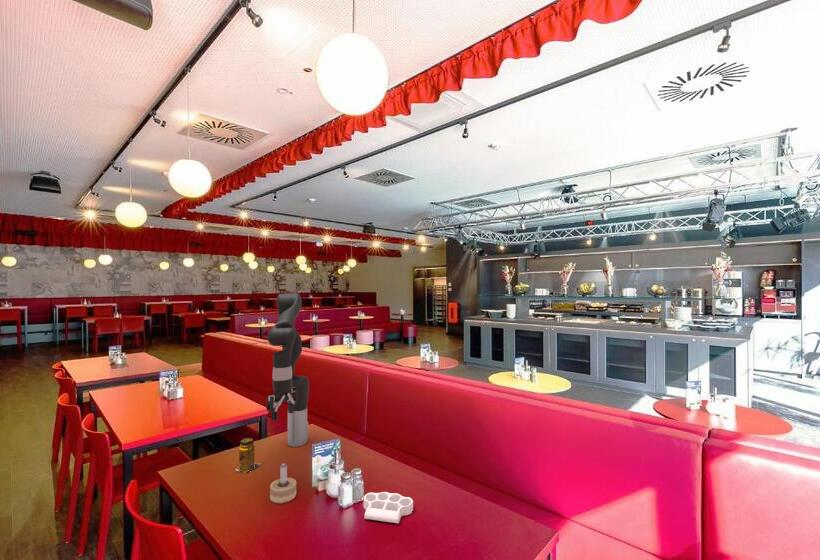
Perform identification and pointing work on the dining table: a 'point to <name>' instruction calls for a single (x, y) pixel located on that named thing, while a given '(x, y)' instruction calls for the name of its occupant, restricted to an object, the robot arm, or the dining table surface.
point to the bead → (283, 491)
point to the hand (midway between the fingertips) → (282, 416)
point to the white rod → (283, 475)
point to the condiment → (247, 455)
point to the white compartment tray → (387, 506)
